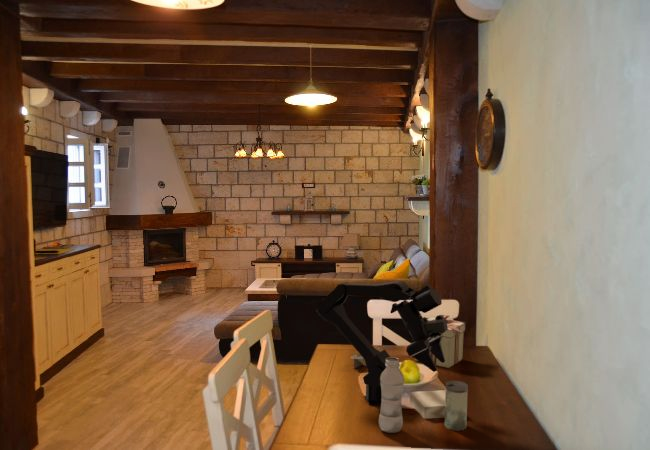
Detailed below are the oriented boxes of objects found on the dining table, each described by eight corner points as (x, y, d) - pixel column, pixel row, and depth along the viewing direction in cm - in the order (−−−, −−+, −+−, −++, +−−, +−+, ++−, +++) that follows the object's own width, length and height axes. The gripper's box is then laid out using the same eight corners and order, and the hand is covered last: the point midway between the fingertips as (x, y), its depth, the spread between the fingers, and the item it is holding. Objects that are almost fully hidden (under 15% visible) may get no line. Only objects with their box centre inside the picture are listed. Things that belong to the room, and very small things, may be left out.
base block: (424, 418, 156) (424, 406, 156) (409, 402, 168) (410, 391, 168) (462, 416, 159) (462, 404, 158) (445, 400, 170) (446, 390, 170)
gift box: (459, 370, 201) (461, 325, 200) (412, 362, 210) (414, 318, 209) (471, 358, 215) (473, 316, 214) (427, 351, 225) (428, 310, 224)
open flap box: (385, 364, 207) (386, 347, 207) (363, 377, 192) (364, 359, 192) (358, 358, 214) (359, 342, 213) (335, 370, 199) (335, 353, 198)
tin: (449, 431, 148) (451, 388, 148) (440, 422, 154) (442, 381, 154) (470, 430, 149) (471, 387, 149) (460, 421, 155) (462, 380, 155)
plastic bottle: (376, 425, 151) (378, 355, 150) (399, 425, 151) (401, 355, 150) (380, 436, 144) (382, 363, 143) (405, 435, 145) (407, 362, 144)
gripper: (426, 314, 150) (455, 364, 147) (443, 301, 167) (470, 347, 164) (394, 331, 155) (421, 380, 152) (414, 317, 172) (439, 362, 169)
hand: (439, 366), depth 159 cm, fingers open, 9 cm apart
